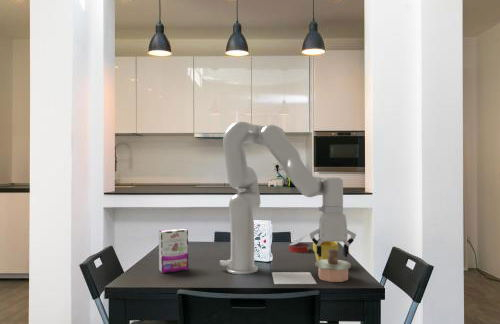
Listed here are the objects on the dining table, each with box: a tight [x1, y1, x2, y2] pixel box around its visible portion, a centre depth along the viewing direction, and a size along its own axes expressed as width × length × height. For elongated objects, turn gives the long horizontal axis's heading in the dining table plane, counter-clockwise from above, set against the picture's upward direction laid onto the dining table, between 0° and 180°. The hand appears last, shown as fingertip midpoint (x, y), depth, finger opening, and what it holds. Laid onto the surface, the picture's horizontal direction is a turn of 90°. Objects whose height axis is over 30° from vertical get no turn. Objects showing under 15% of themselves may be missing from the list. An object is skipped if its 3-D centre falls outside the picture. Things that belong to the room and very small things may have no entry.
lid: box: [314, 249, 352, 270], centre depth 146 cm, size 13×13×6 cm
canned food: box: [288, 234, 310, 254], centre depth 195 cm, size 11×10×10 cm
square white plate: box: [271, 271, 318, 285], centre depth 145 cm, size 15×15×1 cm
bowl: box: [317, 267, 349, 283], centre depth 146 cm, size 10×10×5 cm
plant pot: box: [312, 241, 339, 261], centre depth 165 cm, size 10×10×10 cm
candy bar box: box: [158, 228, 189, 274], centre depth 158 cm, size 11×5×16 cm, turn 117°
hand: (332, 256), depth 146 cm, fingers open, 9 cm apart
